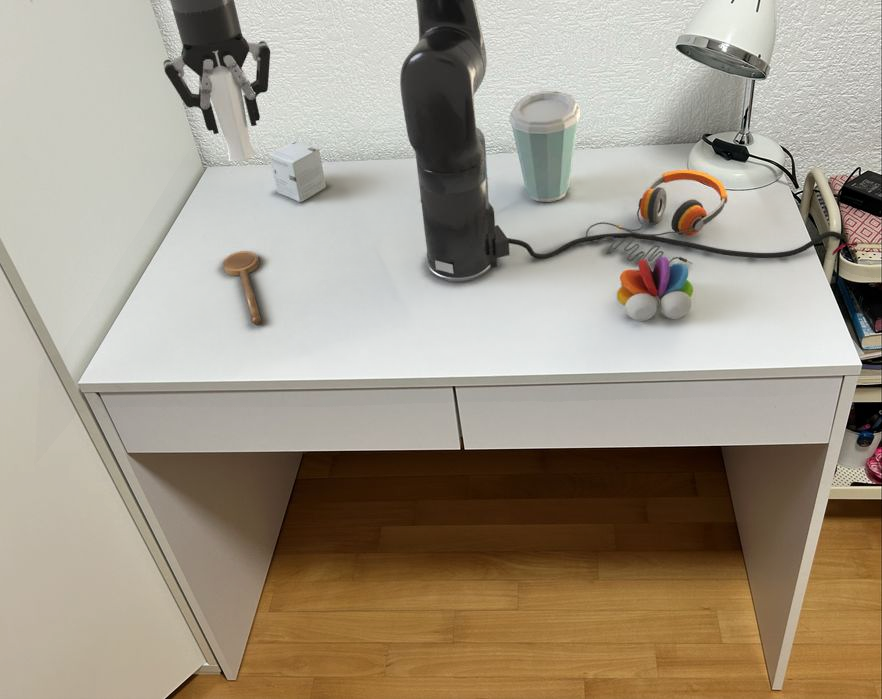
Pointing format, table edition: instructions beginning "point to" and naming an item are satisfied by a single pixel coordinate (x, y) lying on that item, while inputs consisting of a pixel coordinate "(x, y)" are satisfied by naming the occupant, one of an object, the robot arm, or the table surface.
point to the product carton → (297, 170)
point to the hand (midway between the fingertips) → (234, 126)
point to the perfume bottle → (230, 112)
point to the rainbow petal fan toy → (655, 290)
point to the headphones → (684, 219)
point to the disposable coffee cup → (545, 142)
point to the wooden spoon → (244, 277)
